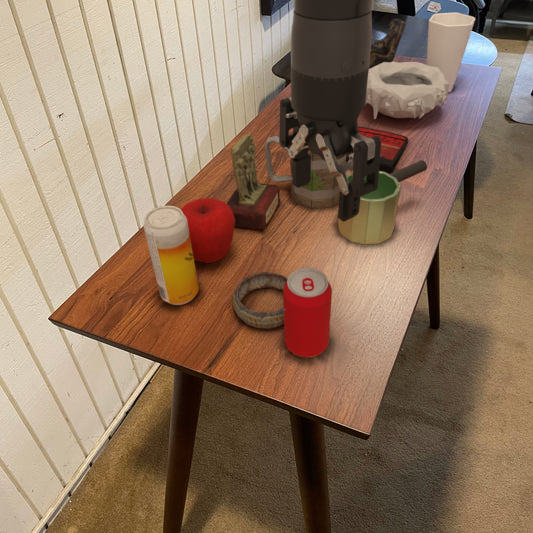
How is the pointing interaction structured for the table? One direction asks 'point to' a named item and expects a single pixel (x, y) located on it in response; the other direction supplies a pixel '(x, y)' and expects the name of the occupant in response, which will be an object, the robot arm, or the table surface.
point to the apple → (209, 228)
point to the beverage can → (307, 312)
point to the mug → (321, 182)
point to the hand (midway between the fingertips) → (323, 200)
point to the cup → (448, 43)
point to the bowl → (405, 89)
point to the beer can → (171, 254)
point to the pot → (378, 207)
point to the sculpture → (250, 189)
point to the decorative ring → (253, 284)
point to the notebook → (386, 147)
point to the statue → (387, 44)
